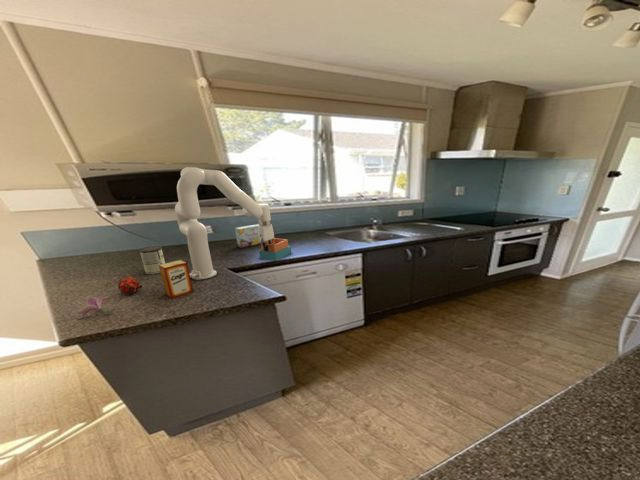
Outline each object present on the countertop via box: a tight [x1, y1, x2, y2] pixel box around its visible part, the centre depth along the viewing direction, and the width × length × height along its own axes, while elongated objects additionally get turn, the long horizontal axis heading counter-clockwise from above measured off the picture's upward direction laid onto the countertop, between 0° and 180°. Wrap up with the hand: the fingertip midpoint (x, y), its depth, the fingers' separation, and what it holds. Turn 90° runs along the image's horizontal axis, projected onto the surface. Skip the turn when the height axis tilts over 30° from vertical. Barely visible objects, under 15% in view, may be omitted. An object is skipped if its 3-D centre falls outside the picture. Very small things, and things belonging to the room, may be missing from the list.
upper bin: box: [260, 237, 289, 252], centre depth 197 cm, size 14×11×10 cm
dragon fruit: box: [117, 276, 143, 296], centre depth 142 cm, size 8×8×12 cm
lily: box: [78, 292, 110, 320], centre depth 121 cm, size 12×12×10 cm
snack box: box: [234, 223, 261, 249], centre depth 222 cm, size 21×6×15 cm, turn 143°
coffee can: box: [138, 245, 166, 275], centre depth 168 cm, size 10×10×14 cm
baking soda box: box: [159, 259, 194, 299], centre depth 140 cm, size 10×6×16 cm
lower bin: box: [258, 245, 292, 261], centre depth 198 cm, size 16×13×6 cm
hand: (268, 249), depth 191 cm, fingers open, 3 cm apart
